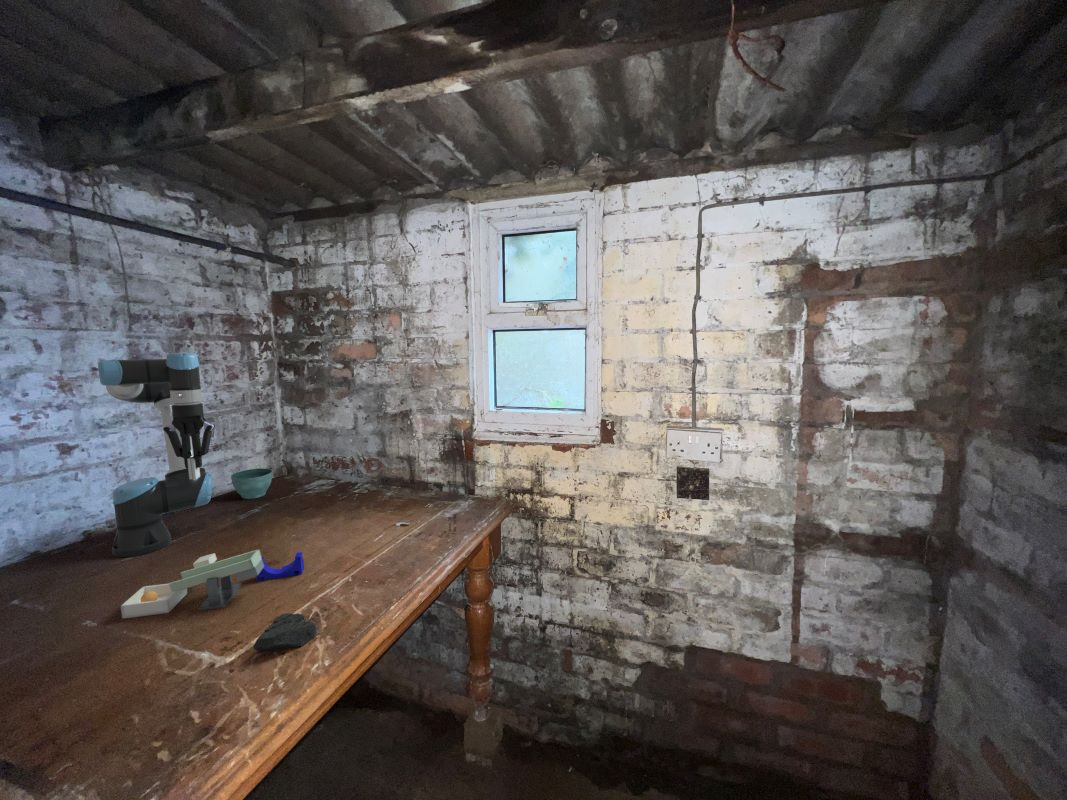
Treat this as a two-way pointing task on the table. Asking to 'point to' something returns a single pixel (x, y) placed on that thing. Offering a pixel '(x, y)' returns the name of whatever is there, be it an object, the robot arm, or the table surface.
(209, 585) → the pivot stand
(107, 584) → the table surface
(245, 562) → the lever
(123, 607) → the open white tray
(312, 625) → the rock
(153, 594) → the ball
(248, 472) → the flower pot
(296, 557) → the cable clip
